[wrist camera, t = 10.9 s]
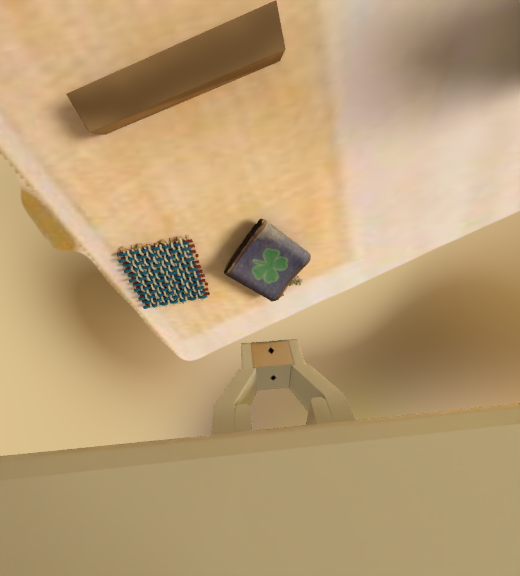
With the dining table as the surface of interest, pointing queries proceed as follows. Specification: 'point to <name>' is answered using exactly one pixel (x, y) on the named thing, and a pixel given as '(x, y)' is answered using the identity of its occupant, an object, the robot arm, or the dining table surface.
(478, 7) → the dining table surface
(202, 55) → the bar
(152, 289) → the woven mat
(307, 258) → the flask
